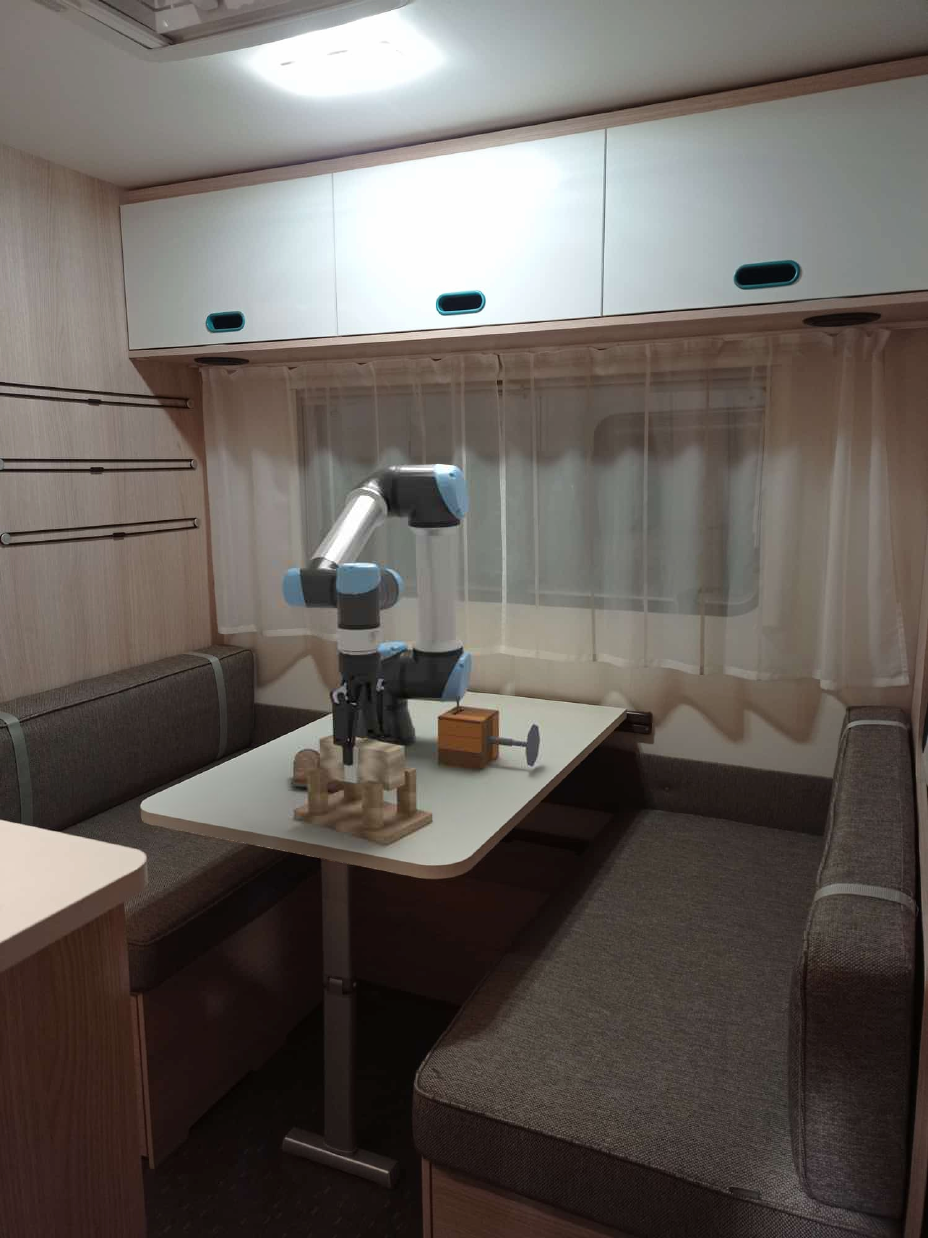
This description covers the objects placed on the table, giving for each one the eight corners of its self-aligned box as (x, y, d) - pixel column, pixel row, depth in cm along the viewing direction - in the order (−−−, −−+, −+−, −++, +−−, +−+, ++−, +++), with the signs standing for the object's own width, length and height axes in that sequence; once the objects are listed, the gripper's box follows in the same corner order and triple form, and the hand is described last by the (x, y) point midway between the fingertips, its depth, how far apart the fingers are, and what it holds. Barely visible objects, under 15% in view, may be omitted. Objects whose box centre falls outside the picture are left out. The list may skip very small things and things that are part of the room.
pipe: (349, 775, 174) (369, 752, 183) (273, 766, 179) (297, 744, 188) (352, 804, 176) (372, 780, 185) (277, 794, 181) (300, 772, 190)
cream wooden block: (320, 776, 164) (319, 739, 163) (336, 769, 168) (335, 733, 167) (389, 791, 156) (388, 752, 155) (405, 784, 159) (404, 746, 158)
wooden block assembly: (293, 817, 164) (292, 768, 163) (341, 797, 175) (340, 750, 173) (386, 845, 152) (385, 791, 150) (432, 821, 162) (432, 770, 161)
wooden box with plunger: (524, 777, 187) (524, 710, 185) (437, 765, 195) (437, 701, 193) (541, 762, 196) (541, 699, 194) (458, 751, 205) (458, 690, 202)
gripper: (341, 660, 149) (344, 795, 152) (406, 645, 163) (407, 768, 167) (308, 656, 153) (312, 787, 157) (375, 641, 168) (377, 762, 171)
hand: (361, 777), depth 162 cm, fingers closed on cream wooden block, 5 cm apart
